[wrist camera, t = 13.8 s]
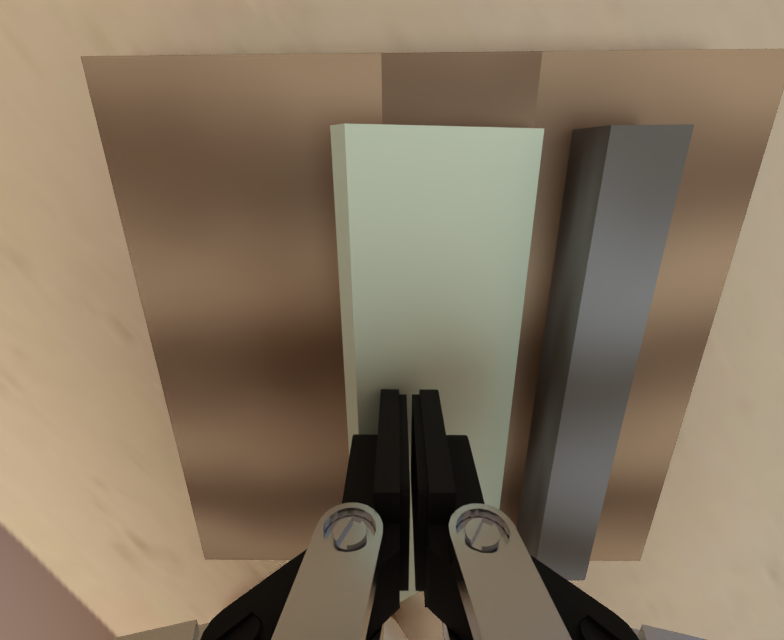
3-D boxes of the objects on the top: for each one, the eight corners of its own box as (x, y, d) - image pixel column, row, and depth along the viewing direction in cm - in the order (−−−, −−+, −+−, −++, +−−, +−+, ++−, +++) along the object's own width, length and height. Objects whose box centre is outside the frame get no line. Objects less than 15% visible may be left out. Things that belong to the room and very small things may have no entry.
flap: (482, 532, 18) (494, 546, 18) (357, 602, 15) (367, 621, 15) (522, 129, 12) (544, 128, 12) (330, 125, 9) (344, 123, 9)
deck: (604, 500, 22) (672, 614, 17) (232, 500, 23) (180, 612, 17) (708, 71, 15) (890, 24, 9) (148, 76, 15) (7, 34, 10)
